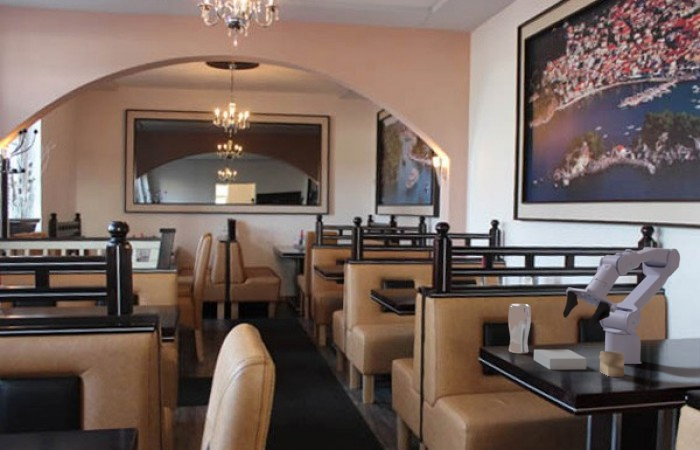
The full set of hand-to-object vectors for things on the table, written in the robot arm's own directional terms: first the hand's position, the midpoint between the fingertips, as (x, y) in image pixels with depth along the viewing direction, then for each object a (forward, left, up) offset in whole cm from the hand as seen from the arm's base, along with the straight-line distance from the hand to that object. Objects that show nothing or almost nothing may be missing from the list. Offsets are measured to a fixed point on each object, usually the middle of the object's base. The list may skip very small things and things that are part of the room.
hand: (576, 320), depth 173 cm
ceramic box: (+2, -6, -15) cm, 16 cm away
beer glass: (+8, -22, -14) cm, 28 cm away
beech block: (-8, +5, -14) cm, 17 cm away
